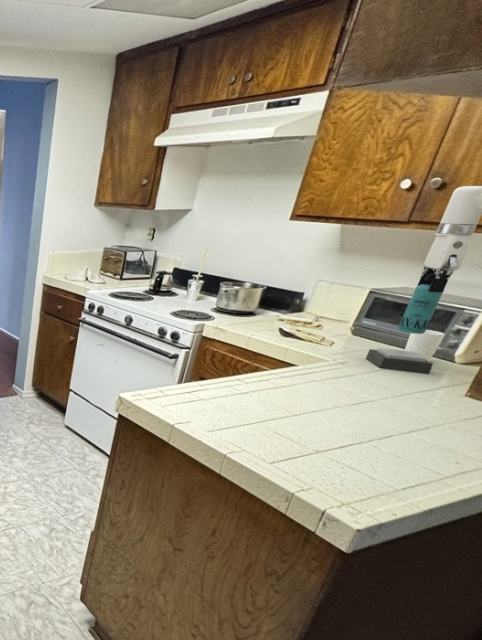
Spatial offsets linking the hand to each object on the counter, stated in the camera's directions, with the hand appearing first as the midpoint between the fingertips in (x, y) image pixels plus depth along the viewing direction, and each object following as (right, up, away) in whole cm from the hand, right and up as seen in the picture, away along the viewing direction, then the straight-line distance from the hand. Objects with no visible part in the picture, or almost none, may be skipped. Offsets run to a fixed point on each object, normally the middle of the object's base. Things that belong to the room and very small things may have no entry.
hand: (429, 289), depth 148 cm
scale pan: (0, -21, +8) cm, 22 cm away
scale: (0, -24, +10) cm, 25 cm away
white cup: (+15, -21, +17) cm, 31 cm away
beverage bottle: (0, -14, +6) cm, 15 cm away
